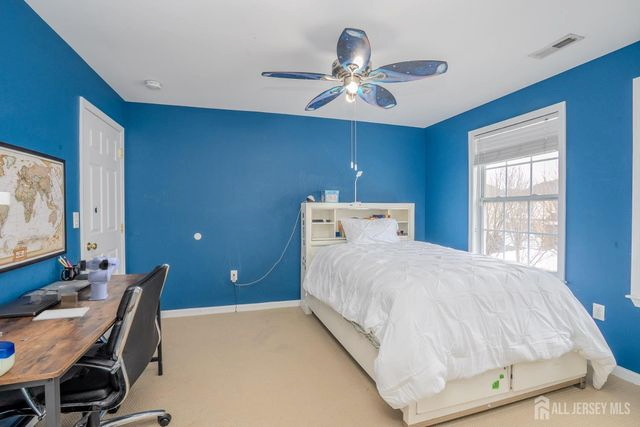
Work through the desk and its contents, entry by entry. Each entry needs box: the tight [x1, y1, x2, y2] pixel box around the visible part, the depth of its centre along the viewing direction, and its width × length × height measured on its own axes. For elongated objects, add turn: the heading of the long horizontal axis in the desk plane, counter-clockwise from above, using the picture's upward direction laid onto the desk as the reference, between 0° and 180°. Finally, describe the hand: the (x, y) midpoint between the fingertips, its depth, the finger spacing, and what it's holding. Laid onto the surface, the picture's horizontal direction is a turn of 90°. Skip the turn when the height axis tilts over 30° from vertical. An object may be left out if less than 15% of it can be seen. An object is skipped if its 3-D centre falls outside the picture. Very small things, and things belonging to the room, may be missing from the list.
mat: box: [31, 306, 90, 322], centre depth 147 cm, size 14×18×1 cm
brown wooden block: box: [60, 291, 78, 309], centre depth 155 cm, size 2×6×8 cm, turn 115°
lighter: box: [30, 287, 50, 302], centre depth 161 cm, size 7×2×8 cm, turn 117°
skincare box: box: [57, 285, 76, 299], centre depth 169 cm, size 6×6×7 cm
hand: (90, 266), depth 157 cm, fingers open, 7 cm apart
